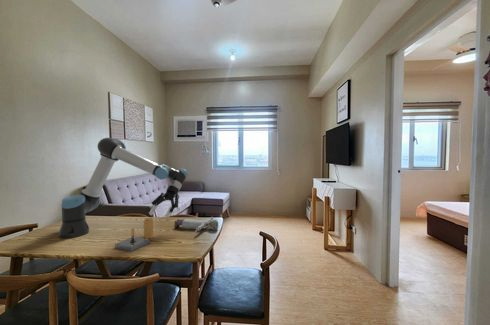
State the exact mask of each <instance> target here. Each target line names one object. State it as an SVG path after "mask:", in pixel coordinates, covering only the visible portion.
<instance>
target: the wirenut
mask: <svg viewBox="0 0 490 325" xmlns="http://www.w3.org/2000/svg"><path fill="white" fill-rule="evenodd" d="M153 237H154V219H153V218H151V217H148V218H145V219H144V220H143V238H146V239H152V238H153Z"/></svg>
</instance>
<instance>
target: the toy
mask: <svg viewBox="0 0 490 325" xmlns="http://www.w3.org/2000/svg"><path fill="white" fill-rule="evenodd" d="M180 226H181V228H182V229H184V230H185V229H186V230H195V231H194V233H197V232H198V231H199V232H200V231H201V230H202V229H204V228H207V229H208V230H213V231H217V230H218V229H219V222H218V220H217V219H214V217H213V216H211V217H209V218H208V219H205V220H201V219H199V220H198V219H191V218H185V219H177V220H175V221H174V229H178V227H180Z"/></svg>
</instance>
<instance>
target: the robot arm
mask: <svg viewBox="0 0 490 325" xmlns="http://www.w3.org/2000/svg"><path fill="white" fill-rule="evenodd" d="M126 147H127V146H126V144H125V143H124V141H123V140H120V139H118V138H112V137H104V138H102V139H101V140H99V141H98V143H97V150H98V152H99V155H100V158H99V161H98V163H97V165H96V167H95V169H94V171H93V173H92V175H91V178H90V179H89V181H88V183H87V185H86V187H85V188H84V189H81V191H80V194H74V195H69V196H66V197H64V198H63V199H62V200H61V220H62V221H61V225H60V229H59V231H58V237H59V239H61V238H62V239H70V238H77V237H81V236H84V235H86V234H89V232H90V227H89V224H88V223H87V219H86V213H89V212H91V211H94V210H95V209H97V208H98V206H99V205H100V203H101V196H102V194H101V191H102V189H103V187H104V185H105V183H106V181H107V179H108V176H109V174H110V172H111V170H112V168H113V166H114V164H115V163H116V162H118V161H119V160H120V161H121V162H124V163H125V164H129V165H130V166H133V167H134V168H136V169H139V170H141V171H144V172H146V173H147V174H150V175H153V176H154V177H155V178H157V179H158V180H165V179H170V180H171V182H170V183H169V185H168V187H167V188H166V192H165V193H164V192H161V193H160V195H158V196H157V197H156V198H155V199H154V200H152V201H151V205H152V206H151V207H150V211H149V212H148V214H149V215H150V216H153V214H154V213H155V211H156V209H157V207H158V206H159V205H160V204H162V203H163V202H166V201H170V204H171V206H169V208H168V209H167V211H166V213H165V217H166V218H168V219H169V218H170V215H171V214H172V213H174V210H175V209H178V208H179V198H180V195H179V191H180V190H181V188H182V186H183V184H184V183H185V181H186V179H187V178H188V174H189V173H188V171H187V170H186V169H184V168H179V169H175V168H173V167H170V166H169V165H167V164H164V163H162V164H161V165H160V164H159V163H157V162H154V161H153V160H149V159H147V158H145V157H143V156H141V155H139V154H136V153H134V152H132V151H130V150H128V149H127V148H126Z"/></svg>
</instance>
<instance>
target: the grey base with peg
mask: <svg viewBox="0 0 490 325" xmlns="http://www.w3.org/2000/svg"><path fill="white" fill-rule="evenodd" d="M130 233H131V234H130V235H131V236H130V237H128V238H126V239H124V240H122V241H119V242H115V243H114V248H116V249H121V250H124V251H129V252H133V251H136V250H137V249H139V248H142V247H144V246H146V245H148V244H150V243H151V240H150V239H151V238H144V237H139V236H135V228H131V229H130Z"/></svg>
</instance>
